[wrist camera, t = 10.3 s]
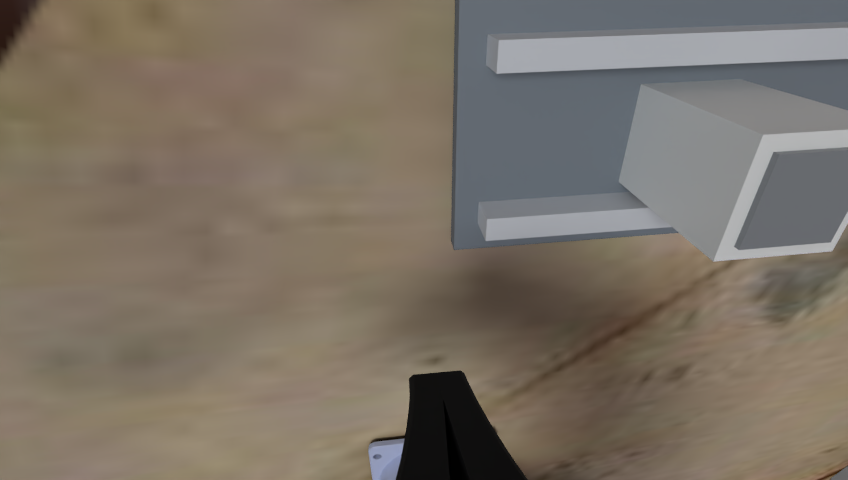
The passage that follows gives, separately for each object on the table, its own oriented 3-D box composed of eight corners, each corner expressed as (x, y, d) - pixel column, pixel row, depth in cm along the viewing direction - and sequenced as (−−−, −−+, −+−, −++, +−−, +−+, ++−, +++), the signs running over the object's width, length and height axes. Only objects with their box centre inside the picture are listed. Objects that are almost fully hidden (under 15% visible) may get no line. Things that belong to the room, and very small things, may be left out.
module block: (707, 175, 19) (837, 254, 14) (618, 182, 19) (717, 265, 13) (740, 79, 17) (909, 128, 12) (640, 84, 16) (769, 137, 11)
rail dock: (810, 213, 22) (854, 237, 20) (451, 240, 20) (460, 269, 18) (929, -22, 16) (1005, -21, 14) (455, -10, 15) (468, -7, 13)
